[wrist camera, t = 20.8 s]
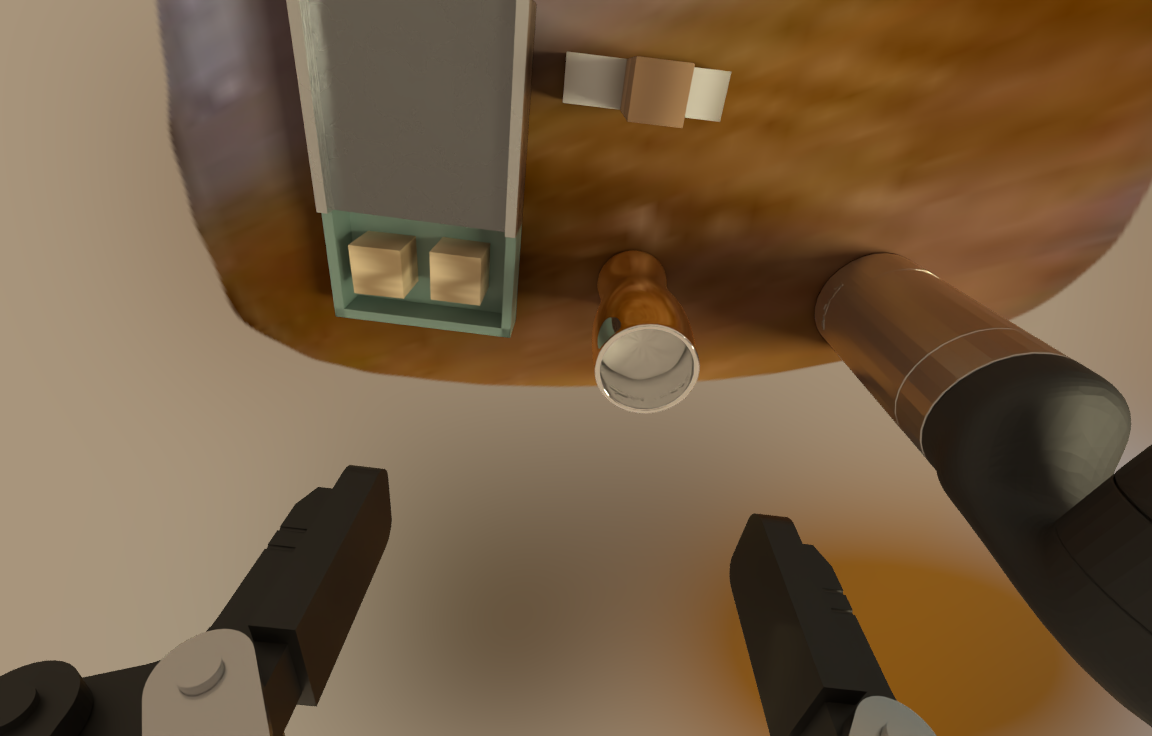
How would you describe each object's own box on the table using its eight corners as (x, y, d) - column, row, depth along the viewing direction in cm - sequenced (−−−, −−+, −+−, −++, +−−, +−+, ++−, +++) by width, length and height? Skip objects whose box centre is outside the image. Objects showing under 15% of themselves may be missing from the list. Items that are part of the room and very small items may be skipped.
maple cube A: (481, 258, 39) (479, 305, 41) (490, 243, 42) (488, 287, 44) (429, 251, 39) (430, 299, 41) (442, 236, 42) (443, 281, 44)
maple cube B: (400, 250, 39) (403, 298, 41) (415, 236, 42) (418, 280, 44) (347, 245, 39) (354, 293, 41) (368, 230, 42) (373, 275, 44)
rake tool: (721, 71, 36) (772, 72, 26) (711, 118, 37) (755, 136, 27) (568, 52, 36) (558, 46, 25) (564, 100, 37) (553, 112, 27)
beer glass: (601, 326, 46) (604, 424, 34) (584, 255, 43) (579, 334, 30) (676, 310, 45) (709, 406, 33) (664, 236, 42) (695, 310, 29)
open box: (536, 3, 34) (529, -4, 30) (522, 223, 42) (515, 238, 38) (314, -29, 34) (280, -41, 30) (341, 199, 41) (316, 212, 38)
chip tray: (522, 223, 42) (516, 235, 39) (515, 320, 46) (510, 337, 43) (341, 199, 41) (320, 210, 38) (352, 300, 46) (335, 316, 43)
